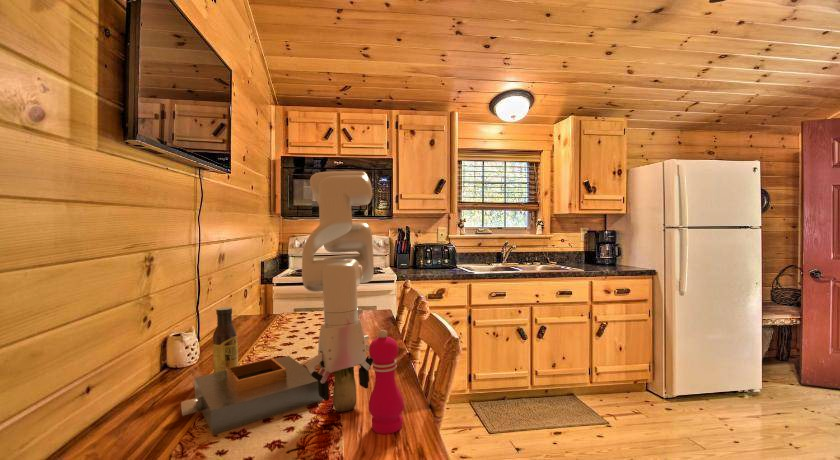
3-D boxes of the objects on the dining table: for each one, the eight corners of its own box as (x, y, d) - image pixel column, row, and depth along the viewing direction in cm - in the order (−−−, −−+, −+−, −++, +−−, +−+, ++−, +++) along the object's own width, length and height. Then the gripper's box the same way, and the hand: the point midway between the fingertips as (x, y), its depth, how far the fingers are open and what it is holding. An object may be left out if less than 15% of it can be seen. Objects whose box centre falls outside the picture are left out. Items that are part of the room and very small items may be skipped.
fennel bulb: (355, 402, 96) (352, 351, 96) (361, 410, 91) (358, 357, 91) (330, 408, 93) (327, 356, 93) (335, 417, 89) (333, 362, 89)
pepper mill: (370, 419, 87) (365, 326, 87) (404, 416, 88) (399, 324, 87) (368, 437, 80) (364, 335, 79) (405, 434, 80) (401, 333, 80)
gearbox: (289, 373, 117) (288, 347, 117) (323, 400, 98) (321, 369, 97) (176, 402, 100) (174, 371, 100) (190, 441, 81) (188, 404, 81)
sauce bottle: (229, 384, 111) (225, 311, 110) (209, 383, 112) (205, 311, 112) (244, 375, 117) (240, 306, 117) (225, 374, 118) (221, 306, 118)
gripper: (366, 308, 100) (370, 377, 100) (297, 321, 90) (301, 398, 90) (382, 313, 94) (386, 387, 94) (310, 327, 84) (314, 410, 84)
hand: (344, 392), depth 92 cm, fingers open, 9 cm apart
